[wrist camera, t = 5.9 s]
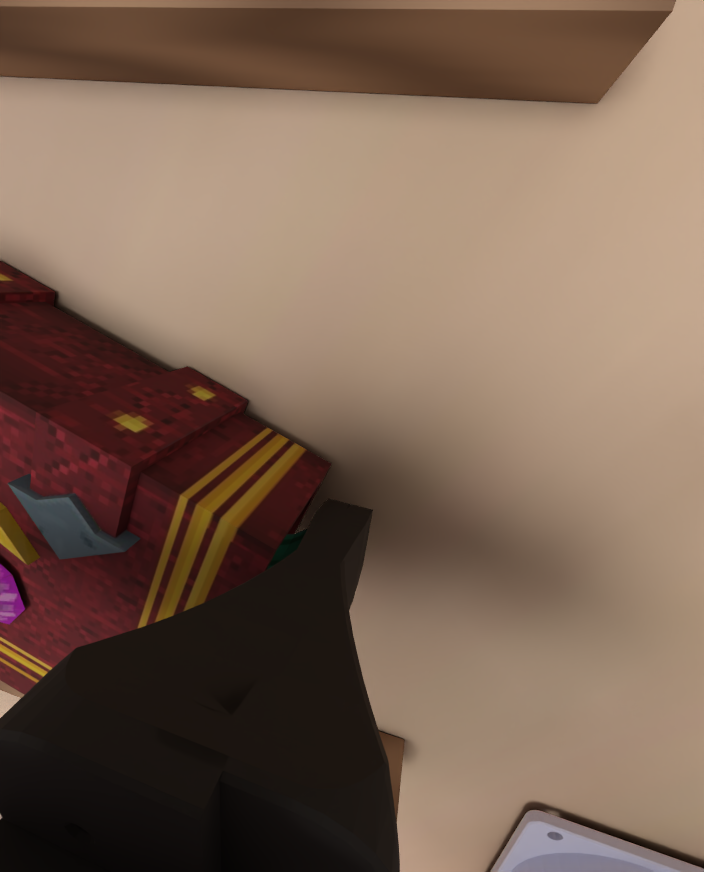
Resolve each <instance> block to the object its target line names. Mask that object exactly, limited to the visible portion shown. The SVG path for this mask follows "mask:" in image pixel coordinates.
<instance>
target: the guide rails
mask: <svg viewBox="0 0 704 872" xmlns="http://www.w3.org/2000/svg"><path fill="white" fill-rule="evenodd" d="M675 2H676V0H0V76H16V77H38V78H59V79H81V80H103V81H124V82H146V83H168V84H190V85H211V86H233V87H255V88H277V89H298V90H320V91H342V92H364V93H385V94H407V95H429V96H450V97H472V98H494V99H516V100H537V101H559V102H581V103H598V102H599V101H600V99H601V98H602V97H603V96H604V94H605V93H606V92H607V91H608V90H609V88H610V87H611V86H612V85H613V83H614V82H615V81H616V80H617V78H618V77H619V76H620V75H621V74H622V72H623V71H624V70H625V69H626V67H627V66H628V65H629V64H630V62H631V61H632V60H633V59H634V57H635V56H636V55H637V54H638V53H639V51H640V50H641V49H642V48H643V46H644V45H645V44H646V43H647V41H648V40H649V39H650V38H651V37H652V35H653V34H654V33H655V32H656V30H657V29H658V28H659V27H660V25H661V24H662V23H663V22H664V21H665V19H666V18H667V17H668V16H669V14H670V13H671V12H672V10H673V8H674V5H675ZM0 690H2V691H5V692H7V693H10V694H12V695H15V696H17V697H20V698H22V697H23V696H24V694H22V693H21V692H19V691H17V690H16V689H14V688H12V687H11V686H9V685H7V684H6V683H4V682H2V681H1V680H0ZM379 734H380V737H381V740H382V743H383V746H384V749H385V752H386V755H387V758H388V761H389V769H390V778H391V785H392V792H393V799H394V807H395V815H396V822H397V813H398V803H399V792H400V781H401V771H402V760H403V750H404V740H403V739H400V738H397V737H394V736H391V735H388V734H386V733H383V732H380V731H379Z"/></svg>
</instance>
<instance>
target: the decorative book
mask: <svg viewBox="0 0 704 872" xmlns="http://www.w3.org/2000/svg"><path fill="white" fill-rule="evenodd" d="M54 301H55V291H53V290H51V289H49V288H47V287H46V286H44V285H42V284H40V283H39V282H37V281H35V280H33V279H31V278H30V277H28V276H26V275H24V274H23V273H21V272H19V271H17V270H16V269H14V268H12V267H10V266H8V265H7V264H5V263H3V262H1V261H0V680H1V681H2V682H4V683H6V684H7V685H9V686H11V687H12V688H14V689H16V690H17V691H19V692H21V693H22V694H24V695H25V694H26V693H27V692H28V691H29V690H30V689H31V688H32V687H33V686H34V685H35V684H36V683H37V682H38V681H40V680H41V679H42V678H43V677H44V676H45V675H46V674H47V673H48V672H49V671H50V670H51V669H52V668H53V667H54V666H56V665H57V664H58V663H59V662H60V661H61V660H63V659H64V658H65V657H66V656H67V655H68V654H69V653H71V652H72V651H73V650H74V649H75V648H76V647H80V646H83V645H87V644H90V643H94V642H97V641H100V640H103V639H106V638H109V637H112V636H116V635H119V634H122V633H125V632H128V631H131V630H134V629H137V628H141V627H143V626H146V625H149V624H152V623H155V622H157V621H160V620H163V619H165V618H168V617H171V616H173V615H176V614H178V613H181V612H183V611H185V610H188V609H190V608H193V607H195V606H198V605H200V604H202V603H205V602H207V601H209V600H211V599H213V598H215V597H217V596H219V595H221V594H223V593H225V592H227V591H229V590H231V589H233V588H235V587H237V586H239V585H241V584H243V583H245V582H247V581H248V580H250V579H252V578H254V577H255V576H257V575H259V574H261V573H262V572H264V571H266V570H267V569H269V568H270V567H272V566H274V565H275V564H277V563H278V562H280V561H281V560H283V559H284V558H285V557H287V556H288V555H290V554H291V553H293V552H294V551H295V550H297V548H298V546H299V544H300V542H301V541H302V539H303V537H304V535H305V533H306V531H307V529H306V530H303V531H301V532H298V533H296V534H294V533H295V531H296V530H297V528H298V526H299V524H300V522H301V520H302V518H303V517H304V515H305V513H306V511H307V509H308V507H309V505H310V504H311V502H312V500H313V498H314V496H315V494H316V492H317V490H318V489H319V487H320V485H321V483H322V481H323V479H324V477H325V476H326V474H327V472H328V470H329V468H330V466H331V463H329V462H328V461H326V460H324V459H322V458H321V457H319V456H317V455H315V454H314V453H312V452H310V451H308V450H306V449H305V448H303V447H301V446H299V445H298V444H296V443H294V442H292V441H291V440H289V439H287V438H285V437H283V436H282V435H280V434H278V433H276V432H275V431H273V430H271V429H269V428H268V427H266V426H264V425H262V424H260V423H259V422H257V421H255V420H253V419H252V418H250V417H248V416H246V415H245V414H244V411H245V409H246V406H247V403H248V400H246V399H244V398H242V397H241V396H239V395H237V394H235V393H234V392H232V391H230V390H228V389H227V388H225V387H223V386H221V385H219V384H218V383H216V382H214V381H212V380H211V379H209V378H207V377H205V376H203V375H202V374H200V373H198V372H196V371H195V370H193V369H191V368H189V367H188V366H187V367H184V368H181V369H177V370H174V371H171V372H168V371H167V370H165V369H163V368H161V367H160V366H158V365H156V364H154V363H153V362H151V361H149V360H147V359H145V358H144V357H142V356H140V355H138V354H137V353H135V352H133V351H131V350H130V349H128V348H126V347H124V346H122V345H121V344H119V343H117V342H115V341H114V340H112V339H110V338H108V337H107V336H105V335H103V334H101V333H99V332H98V331H96V330H94V329H92V328H91V327H89V326H87V325H85V324H84V323H82V322H80V321H78V320H76V319H75V318H73V317H71V316H69V315H68V314H66V313H64V312H62V311H61V310H59V309H57V308H55V307H54Z"/></svg>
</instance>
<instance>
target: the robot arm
mask: <svg viewBox="0 0 704 872" xmlns="http://www.w3.org/2000/svg"><path fill="white" fill-rule="evenodd" d="M372 512H373V510H371V509H367V508H363V507H359V506H355V505H350V504H348V503H344V502H340V501H336V500H332V499H328V500H327V501H326V502H325V503H324V504H323V505H322V506H321V507H320V508H319V509H318V510H317V512H316V514H315V516H314V518H313V519H312V521H311V523H310V525H309V527H308V529H307V531H306V533H305V535H304V537H303V539H302V541H301V542H300V544H299V546H298V548H297V550H295V551H294V552H293V553H291V554H290V555H288V556H287V557H285V558H284V559H283V560H281V561H280V562H278V563H277V564H275V565H274V566H272V567H270V568H269V569H267V570H266V571H264V572H262V573H261V574H259V575H257V576H255V577H254V578H252V579H250V580H248V581H247V582H245V583H243V584H241V585H239V586H237V587H235V588H233V589H231V590H229V591H227V592H225V593H223V594H221V595H219V596H217V597H215V598H213V599H211V600H209V601H207V602H205V603H202V604H200V605H198V606H195V607H193V608H190V609H188V610H185V611H183V612H181V613H178V614H176V615H173V616H171V617H168V618H165V619H163V620H160V621H157V622H155V623H152V624H149V625H146V626H143V627H141V628H137V629H134V630H131V631H128V632H125V633H122V634H119V635H116V636H112V637H109V638H106V639H103V640H100V641H97V642H94V643H90V644H87V645H83V646H80V647H76V648H75V649H74V650H73V651H72V652H71V653H69V654H68V655H67V656H66V657H65V658H64V659H63V660H61V661H60V662H59V663H58V664H57V665H56V666H54V667H53V668H52V669H51V670H50V671H49V672H48V673H47V674H46V675H45V676H44V677H43V678H42V679H41V680H40V681H38V682H37V683H36V684H35V685H34V686H33V687H32V688H31V689H30V690H29V691H28V692H27V693H26V694H25V695H24V696H23V697H22V698H21V699H20V700H19V701H18V702H17V703H16V704H15V705H14V706H13V707H12V708H11V709H10V710H9V711H7V712H6V713H5V714H4V715H3V716H2V717H1V718H0V814H1V816H2V818H1V819H0V872H400V861H399V844H398V833H397V823H396V815H395V807H394V799H393V792H392V785H391V778H390V769H389V761H388V758H387V755H386V752H385V749H384V746H383V743H382V740H381V737H380V734H379V731H378V728H377V725H376V721H375V718H374V715H373V712H372V709H371V705H370V702H369V698H368V695H367V691H366V687H365V684H364V680H363V677H362V672H361V668H360V664H359V659H358V655H357V651H356V646H355V642H354V638H353V632H352V626H351V621H350V615H349V609H350V606H351V604H352V601H353V598H354V595H355V591H356V588H357V584H358V581H359V577H360V574H361V570H362V566H363V561H364V555H365V550H366V544H367V539H368V533H369V528H370V523H371V517H372ZM490 872H704V868H701V867H698V866H695V865H693V864H690V863H687V862H684V861H681V860H679V859H676V858H673V857H670V856H667V855H664V854H662V853H659V852H656V851H653V850H650V849H647V848H645V847H642V846H639V845H636V844H633V843H631V842H628V841H625V840H622V839H619V838H616V837H614V836H611V835H608V834H605V833H602V832H599V831H597V830H594V829H591V828H588V827H585V826H583V825H580V824H577V823H574V822H571V821H568V820H566V819H563V818H560V817H557V816H554V815H551V814H549V813H546V812H543V811H539V810H530V811H528V812H527V813H526V814H525V815H524V817H523V819H522V820H521V822H520V823H519V825H518V827H517V828H516V830H515V832H514V833H513V835H512V837H511V838H510V840H509V842H508V843H507V845H506V847H505V848H504V850H503V851H502V853H501V855H500V856H499V858H498V860H497V861H496V863H495V865H494V866H493V868H492V870H491V871H490Z"/></svg>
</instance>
